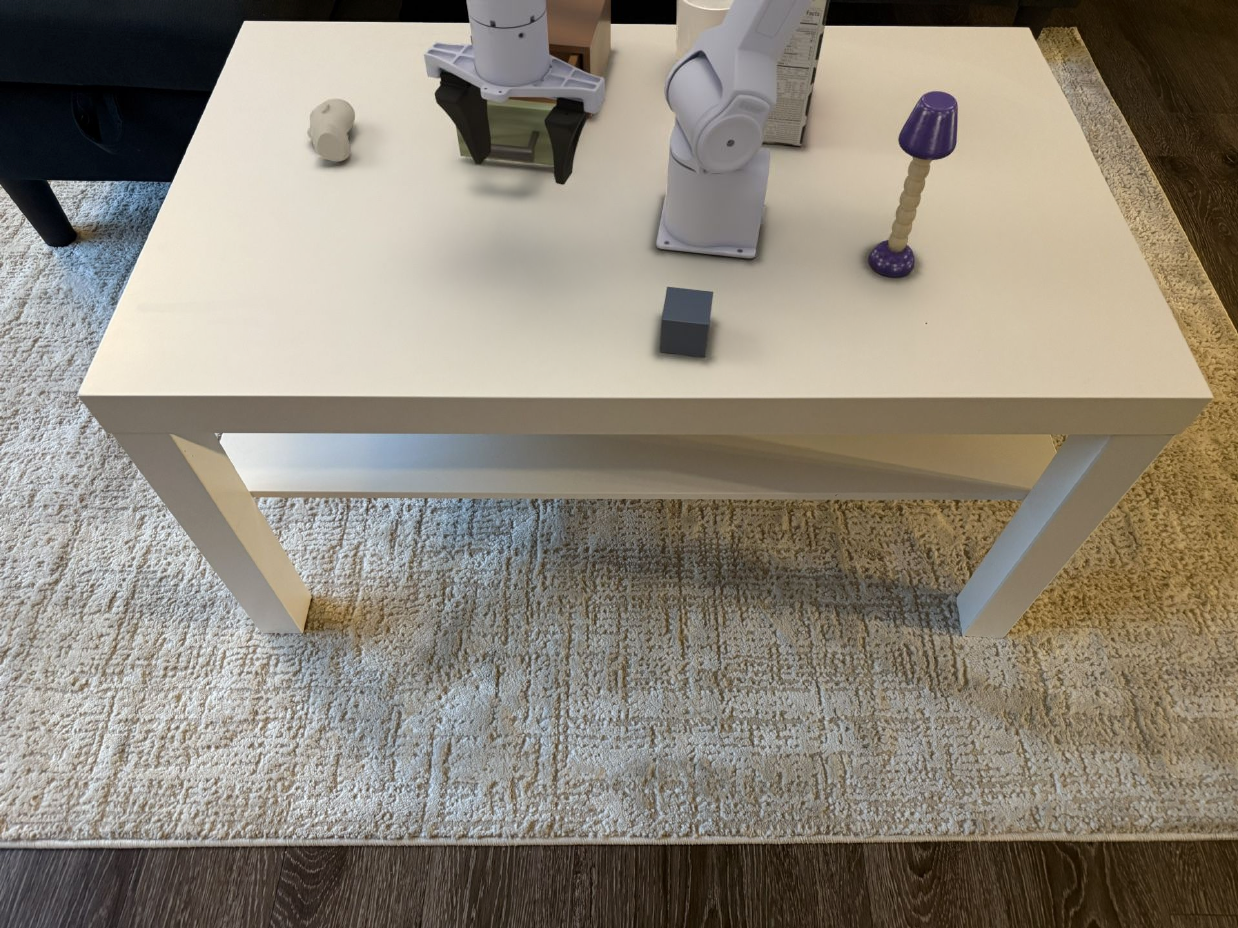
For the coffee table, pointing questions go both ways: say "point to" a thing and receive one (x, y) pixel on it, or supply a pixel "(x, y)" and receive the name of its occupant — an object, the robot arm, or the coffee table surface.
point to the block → (685, 321)
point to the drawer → (522, 125)
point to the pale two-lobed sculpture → (331, 129)
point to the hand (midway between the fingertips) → (523, 167)
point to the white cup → (697, 21)
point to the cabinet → (581, 31)
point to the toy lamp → (917, 175)
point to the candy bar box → (797, 79)
